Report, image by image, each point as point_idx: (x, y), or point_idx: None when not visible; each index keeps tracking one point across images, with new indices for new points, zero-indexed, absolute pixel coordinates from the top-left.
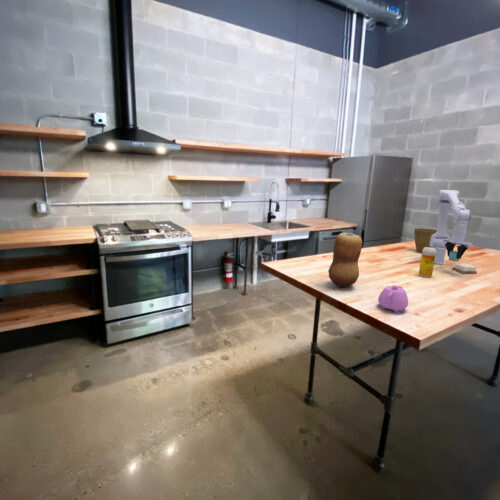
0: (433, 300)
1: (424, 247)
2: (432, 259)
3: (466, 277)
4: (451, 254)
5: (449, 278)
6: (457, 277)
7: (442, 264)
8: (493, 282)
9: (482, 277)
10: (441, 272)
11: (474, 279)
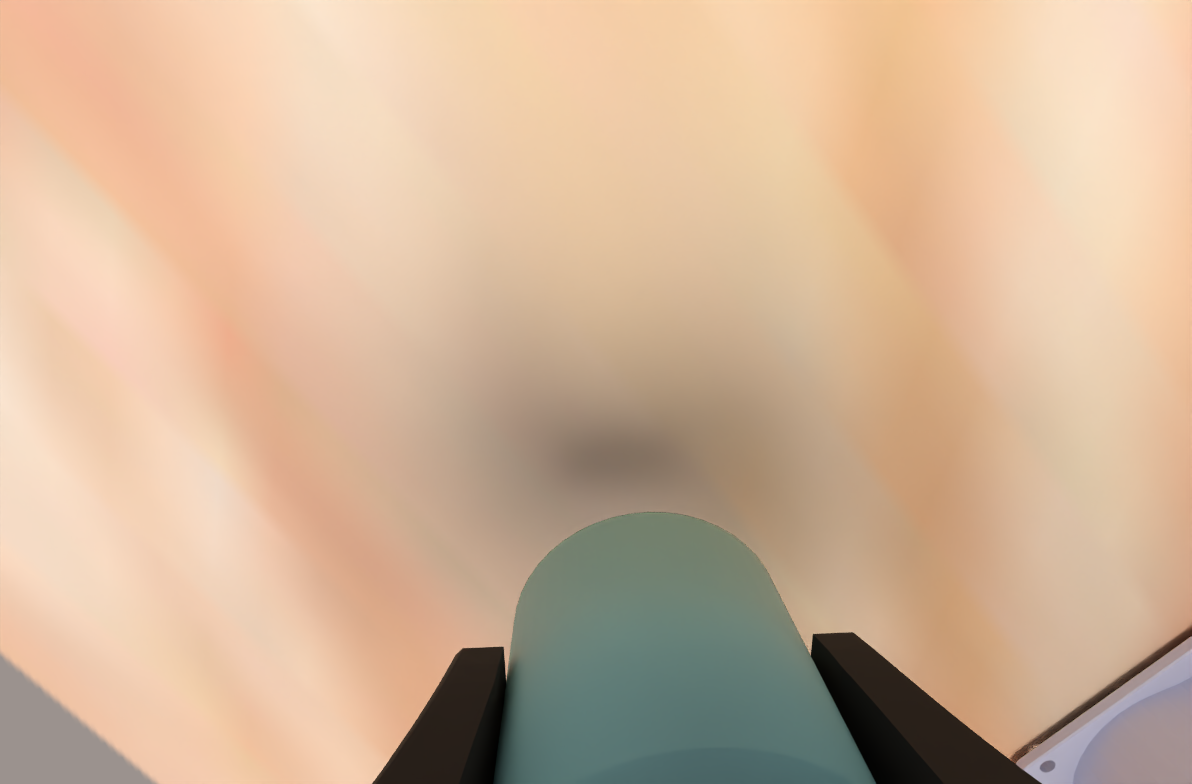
0: None
1: None
2: None
3: (378, 531)
4: (687, 654)
5: (371, 140)
6: (402, 371)
7: (1039, 746)
8: (99, 709)
9: (342, 764)
10: (726, 342)
11: (262, 564)
